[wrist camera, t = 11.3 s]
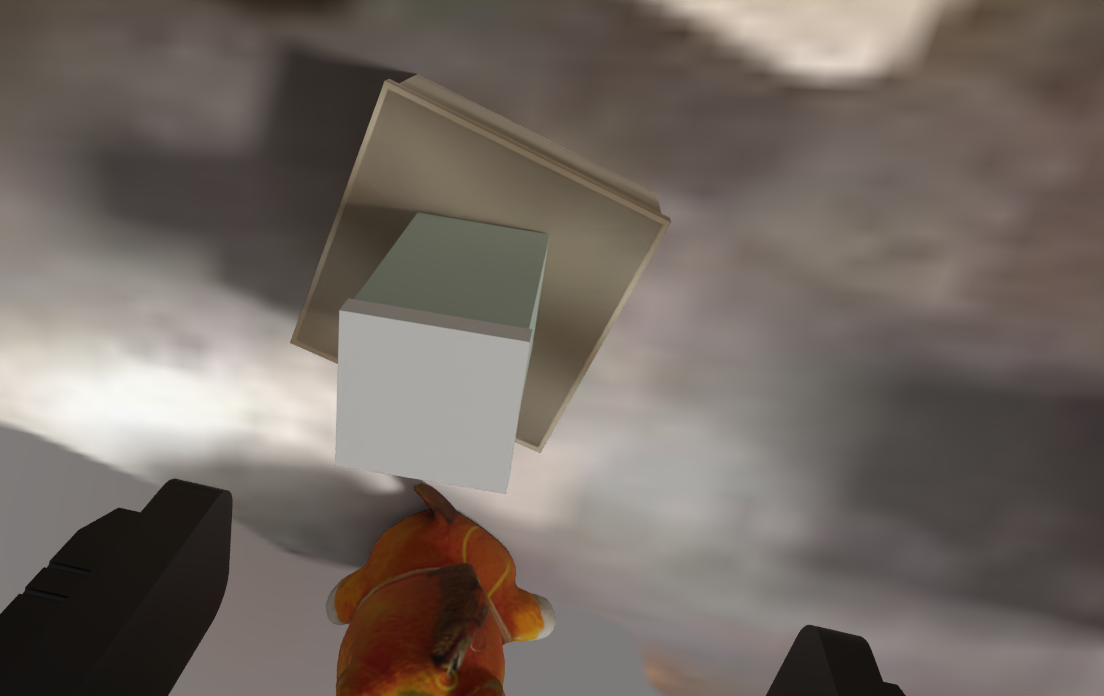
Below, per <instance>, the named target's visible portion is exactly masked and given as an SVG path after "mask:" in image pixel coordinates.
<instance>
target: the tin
mask: <svg viewBox="0 0 1104 696" xmlns="http://www.w3.org/2000/svg"><path fill="white" fill-rule="evenodd" d="M549 237H550V235H549V234H543V233H537V232H531V231H525V230H519V229H513V228H508V227H502V226H496V225H490V224H484V223H478V222H472V221H466V220H460V219H454V218H448V217H442V216H436V215H430V214H425V213H419V212H418V213H417V214H416V216H415V217H414V218H413V220H412V221H411V222H410V224H409V225H408V227H407V228H406V229H405V231H404V232H403V233H402V235H401V236H400V237H399V239H398V240H397V241H396V243H395V244H394V246H393V247H392V248H391V250H390V251H389V252H388V254H387V255H386V256H385V258H384V259H383V260H382V262H381V263H380V265H379V266H378V267H377V269H376V270H375V271H374V273H373V274H372V275H371V277H370V278H369V280H368V281H367V282H366V284H365V285H364V286H363V288H362V289H361V290H360V292H359V293H358V294H357V296H356V297H355V299H349V298H348V300H347V301H346V302H345V304H344V305H343V306H342V307H341V309H340V310H339V344H338V381H337V418H336V455H335V466H341V467H347V468H353V469H359V470H365V471H371V472H377V473H383V474H389V475H395V476H401V477H407V478H413V479H419V480H425V481H431V482H437V483H443V484H449V485H456V486H462V487H468V488H474V489H480V490H486V491H492V492H498V493H504V494H506V492H507V487H508V482H509V476H510V470H511V463H512V457H513V450H514V444H515V438H516V431H517V425H518V419H519V412H520V406H521V400H522V395H523V391H524V386H525V381H526V376H527V371H528V366H529V361H530V356H531V351H532V345H533V338H534V332H535V326H536V319H537V313H538V307H539V300H540V294H541V288H542V281H543V275H544V269H545V262H546V256H547V250H548V243H549Z"/></svg>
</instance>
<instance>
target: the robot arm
mask: <svg viewBox="0 0 1104 696" xmlns="http://www.w3.org/2000/svg"><path fill="white" fill-rule="evenodd" d="M231 522H232V495H231V493H230V491H227V490H223V489H219V488H214V487H210V486H205V485H201V484H197V483H192V482H188V481H183V480H179V479H171V480H169V481H168V482H167V483H165V485H164V486H163V487H162V488H161V489H160V490H159V491H158V493H157V494H156V495H155V496H154V497H153V499H152V500H151V501H150V502H149V503H148V504H147V506H146V507H145V508H144V509H143V510H142V511H141V513H140V512H136V511H131V510H127V509H123V508H117V509H115V510H113V511H112V512H110V513H108V514H107V515H105V516H103V517H101V518H99V519H97V520H96V521H94V522H92V523H90V524H89V525H87V526H85V527H83V528H81V529H80V530H78V531H77V533H75V534H74V535H73V536H72V538H71V539H70V540H69V541H68V542H67V543H66V544H65V545H64V546H63V547H62V548H61V550H60V551H59V552H58V553H57V554H56V555H55V556H54V557H53V558H52V559H51V560H50V563H49V565H48V567H47V568H45V567H44V568H43V569H42V570H41V571H40V572H39V573H38V574H37V575H36V576H35V577H34V579H33V580H32V581H31V582H30V583H29V584H28V585H27V586H26V588H25V591H24V593H23V594H19V595H18V596H17V597H16V598H15V599H14V600H13V601H12V602H11V603H10V604H9V605H8V606H7V607H6V609H5V610H4V611H3V612H2V613H1V614H0V696H168V695H169V693H170V691H171V690H172V688H173V686H174V685H175V683H176V681H177V680H178V678H179V677H180V675H181V673H182V672H183V670H184V668H185V666H186V665H187V663H188V662H189V660H190V658H191V657H192V655H193V653H194V651H195V650H196V648H197V647H198V645H199V643H200V642H201V640H202V638H203V636H204V635H205V633H206V632H207V630H208V628H209V627H210V625H211V623H212V622H213V620H214V618H215V616H216V614H217V612H218V609H219V607H220V604H221V602H222V599H223V596H224V593H225V590H226V586H227V581H228V575H229V559H230V539H231ZM766 696H906V695H905V694H904V693H903V692H902V690H901V689H900V688H899V686H898V685H896V684H891V683H887V682H883V680H882V677H881V675H880V672H879V669H878V667H877V664H876V661H875V658H874V656H873V653H872V650H871V648H870V646H869V644H868V642H867V641H866V640H865V639H864V638H863V637H861V636H857V635H853V634H848V633H844V632H839V631H835V630H831V629H826V628H822V627H817V626H813V625H807V626H805V627H803V628H802V630H801V631H800V632H799V634H798V636H797V637H796V639H795V641H794V643H793V645H792V647H791V649H790V651H789V653H788V655H787V656H786V658H785V660H784V662H783V664H782V666H781V668H780V670H779V672H778V673H777V675H776V677H775V679H774V681H773V683H772V685H771V687H770V689H769V691H768V692H767V695H766Z"/></svg>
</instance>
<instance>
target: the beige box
mask: <svg viewBox="0 0 1104 696" xmlns="http://www.w3.org/2000/svg"><path fill="white" fill-rule="evenodd" d="M418 212H419V213H425V214H430V215H436V216H442V217H448V218H454V219H460V220H466V221H472V222H478V223H484V224H490V225H496V226H502V227H508V228H513V229H519V230H525V231H531V232H537V233H543V234H549V235H550V237H549V243H548V250H547V256H546V262H545V269H544V275H543V281H542V288H541V294H540V300H539V307H538V313H537V319H536V326H535V332H534V338H533V345H532V351H531V356H530V361H529V366H528V371H527V376H526V381H525V386H524V391H523V395H522V400H521V406H520V412H519V419H518V425H517V431H516V438H515V442H516V443H518V444H521V445H523V446H525V447H528V448H530V449H532V450H534V451H537V452H539V453H541V451H542V449H543V448H544V446H545V444H546V442H547V440H548V439H549V437H550V435H551V433H552V432H553V430H554V428H555V426H556V425H557V423H558V421H559V419H560V418H561V416H562V414H563V412H564V410H565V409H566V407H567V405H568V403H569V402H570V400H571V398H572V396H573V395H574V393H575V391H576V389H577V387H578V386H579V384H580V382H581V380H582V379H583V377H584V375H585V373H586V372H587V370H588V368H589V366H590V365H591V363H592V361H593V359H594V357H595V356H596V354H597V352H598V350H599V349H600V347H601V345H602V343H603V342H604V340H605V338H606V336H607V334H608V333H609V331H610V329H611V327H612V326H613V324H614V322H615V320H616V319H617V317H618V315H619V313H620V312H621V310H622V308H623V306H624V304H625V303H626V301H627V299H628V297H629V296H630V294H631V292H632V290H633V289H634V287H635V285H636V283H637V281H638V280H639V278H640V276H641V274H642V273H643V271H644V269H645V267H646V266H647V264H648V262H649V260H650V259H651V257H652V255H653V253H654V251H655V250H656V248H657V246H658V244H659V243H660V241H661V239H662V237H663V236H664V234H665V232H666V230H667V228H668V227H669V225H670V223H671V221H670V218H669V217H667V216H665V215H663V214H661V211H660V206H659V202H658V197H657V193H655V192H653V191H651V190H649V189H647V188H645V187H643V186H641V185H639V184H637V183H635V182H633V181H631V180H629V179H627V178H625V177H623V176H621V175H619V174H617V173H615V172H613V171H611V170H609V169H607V168H605V167H603V166H601V165H599V164H597V163H595V162H593V161H591V160H589V159H587V158H585V157H583V156H581V155H579V154H577V153H575V152H573V151H571V150H569V149H567V148H565V147H563V146H561V145H559V144H557V143H555V142H552V141H550V140H548V139H546V138H544V137H542V136H540V135H538V134H536V133H534V132H532V131H530V130H528V129H526V128H524V127H522V126H520V125H518V124H516V123H514V122H512V121H510V120H508V119H506V118H504V117H502V116H500V115H498V114H496V113H494V112H492V111H490V110H488V109H486V108H484V107H482V106H480V105H478V104H476V103H474V102H472V101H470V100H468V99H466V98H464V97H462V96H460V95H458V94H456V93H454V92H452V91H450V90H448V89H446V88H444V87H442V86H440V85H438V84H436V83H434V82H432V81H430V80H428V79H426V78H424V77H422V76H420V75H418V74H417V75H415V76H413V77H411V78H409V79H407V80H405V81H403V82H401V83H397V82H395V81H393V80H391V79H387V80H385V81H384V84H383V87H382V90H381V92H380V95H379V98H378V101H377V104H376V106H375V109H374V112H373V115H372V117H371V120H370V123H369V126H368V128H367V131H366V134H365V137H364V139H363V142H362V145H361V148H360V151H359V153H358V156H357V159H356V162H355V164H354V167H353V170H352V173H351V175H350V178H349V181H348V184H347V187H346V189H345V192H344V195H343V198H342V200H341V203H340V206H339V209H338V211H337V214H336V217H335V220H334V222H333V225H332V228H331V231H330V234H329V236H328V239H327V242H326V245H325V247H324V250H323V253H322V256H321V258H320V261H319V264H318V267H317V269H316V272H315V275H314V278H313V281H312V283H311V286H310V289H309V292H308V294H307V297H306V300H305V303H304V305H303V308H302V311H301V314H300V316H299V319H298V322H297V325H296V328H295V330H294V333H293V336H292V339H291V341H290V343H292V344H294V345H296V346H299V347H301V348H303V349H305V350H308V351H310V352H312V353H314V354H317V355H319V356H321V357H323V358H326V359H328V360H330V361H333V362H335V363H337V364H338V344H339V310H340V309H341V307H342V306H343V305H344V304H345V302H346V301H347V300H348V298H349V299H355V297H356V296H357V294H358V293H359V292H360V290H361V289H362V288H363V286H364V285H365V284H366V282H367V281H368V280H369V278H370V277H371V275H372V274H373V273H374V271H375V270H376V269H377V267H378V266H379V265H380V263H381V262H382V260H383V259H384V258H385V256H386V255H387V254H388V252H389V251H390V250H391V248H392V247H393V246H394V244H395V243H396V241H397V240H398V239H399V237H400V236H401V235H402V233H403V232H404V231H405V229H406V228H407V227H408V225H409V224H410V222H411V221H412V220H413V218H414V217H415V216H416V214H417V213H418Z"/></svg>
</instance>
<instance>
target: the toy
mask: <svg viewBox="0 0 1104 696" xmlns="http://www.w3.org/2000/svg"><path fill="white" fill-rule="evenodd" d="M414 490H415V491H416V492H417V493H418V494H419V495H420V496H421V498H422V499H423V500H424V502H425V503H426V504H427V505H428V506H429V509H428V510H425V511H422V512H419V513H417V514H414V515H412V516H409V517H408V518H406V519H404V520H402V521H400V522H399V523H397V524H396V525H394V526H393V527H391V528H390V529H388V530H386V531H385V532H384V533H383V534H382V535H381V537H380V538H379V540H378V541H377V543H376V544H375V546H374V547H373V549H372V551H371V554H370V557H369V559H368V562H367V563H366V564H365V565H364V566H363V567H362V568H361V569H359V570H357V571H355V572H354V573H352V574H350V575H348V576H347V577H345V578H344V579H342V580H341V581H340V582H339V583H338V584H337V585H336V586H335V587H334V589H333V590H332V591H331V593H330V594H329V596H328V600H327V602H326V612H327V616H328V618H329V620H330V621H331V622H332V623H333V624H337V625H344V624H349V627H348V629H347V631H346V634H345V636H344V638H343V641H342V643H341V646H340V651H339V658H338V663H337V683H336V696H505V694H504V691H503V681H504V673H505V671H504V670H505V660H504V653H503V647H502V645H504V644H506V643H509V642H512V641H529V640H538V639H542V638H544V637H546V636H548V635H549V634H550V632H552V630H553V628H554V626H555V624H556V616H555V611H554V609H553V607H552V605H551V604H550V602H549V601H548V600H547V599H546V598H544V597H541V596H539V595H536V594H532V593H529V592H527V591H525V590H523V589H520V588H518V587H517V586H516V583H515V576H516V567H515V564H514V561H513V559H512V557H511V555H510V553H509V551H508V550H507V549H506V548H505V546H504V545H503V544H502V543H501V542H500V541H499V540H497V539H496V538H495V537H494V536H493V535H491V534H490V533H489V532H488V531H486V530H485V529H484V528H482V527H480V526H479V525H477V524H475V523H474V522H472V521H471V520H469V519H468V518H467V517H465V516H463V515H462V514H460V513H458V512H457V511H456V510H455V508H454V507H453V506H452V505H451V503H450V502H449V501H448V500H447V499H446V498H445V497H444V496H443V495H442V494H440V493H439V492H438V491H437V490H435V489H434V488H432V487H431V486H427V485H424V484H420V485H417V486H414Z"/></svg>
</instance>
